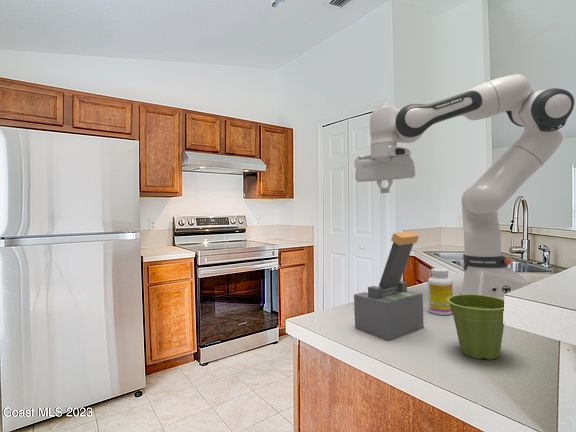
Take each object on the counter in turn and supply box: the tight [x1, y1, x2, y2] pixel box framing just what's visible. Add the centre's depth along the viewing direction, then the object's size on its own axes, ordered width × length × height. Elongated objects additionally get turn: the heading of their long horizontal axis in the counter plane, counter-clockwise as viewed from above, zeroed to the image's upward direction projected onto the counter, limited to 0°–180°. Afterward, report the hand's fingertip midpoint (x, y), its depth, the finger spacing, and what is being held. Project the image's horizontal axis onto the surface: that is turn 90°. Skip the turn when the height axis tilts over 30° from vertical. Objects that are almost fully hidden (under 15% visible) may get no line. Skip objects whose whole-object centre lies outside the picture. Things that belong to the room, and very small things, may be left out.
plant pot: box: [447, 293, 505, 360], centre depth 70 cm, size 12×12×11 cm
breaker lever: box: [378, 231, 420, 294], centre depth 84 cm, size 3×7×17 cm, turn 124°
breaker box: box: [353, 280, 425, 342], centre depth 86 cm, size 11×14×12 cm
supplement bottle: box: [427, 267, 454, 316], centre depth 97 cm, size 7×7×13 cm
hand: (385, 193), depth 114 cm, fingers closed
